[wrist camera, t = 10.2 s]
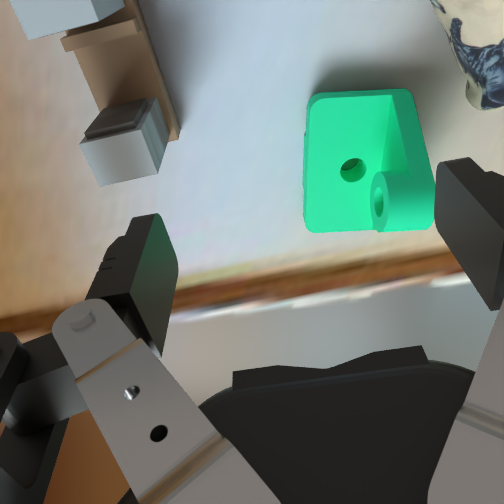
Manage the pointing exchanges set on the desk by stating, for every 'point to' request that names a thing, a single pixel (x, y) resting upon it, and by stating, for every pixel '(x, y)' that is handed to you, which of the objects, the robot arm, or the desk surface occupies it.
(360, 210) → the camera mount
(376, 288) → the desk surface
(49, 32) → the finger block
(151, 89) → the rail
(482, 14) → the pencil case
